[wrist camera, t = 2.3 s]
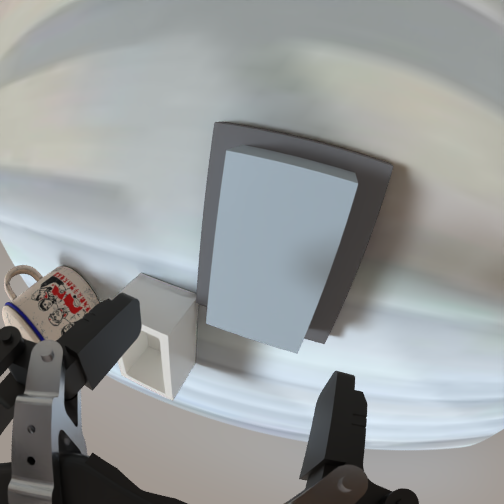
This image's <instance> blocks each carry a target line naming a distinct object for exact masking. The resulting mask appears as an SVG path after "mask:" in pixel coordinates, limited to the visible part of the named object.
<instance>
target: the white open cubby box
mask: <svg viewBox="0 0 504 504" xmlns="http://www.w3.org/2000/svg"><path fill="white" fill-rule="evenodd" d="M120 293H125V294H128V295H130V296H132V297H134V298H136V299H138V300H139V302H140V313H141V324H142V328H141V332H140V335H139V337H138V338H137V339H136V341H135V342H134V343H133V344H132V345H131V346H130V348H129V349H128V350H127V351H126V352H125V353H124V354H123V356H122V357H121V358H120V359H119V360H118V364H119V368H120V371H121V374H122V376H124V377H126V378H128V379H130V380H131V381H133V382H135V383H137V384H139V385H141V386H143V387H145V388H147V389H149V390H151V391H153V392H155V393H157V394H159V395H161V396H163V397H166V398H168V399H170V400H172V401H173V400H174V398H175V397H176V395H177V393H178V392H179V390H180V388H181V387H182V385H183V383H184V382H185V380H186V378H187V377H188V375H189V373H190V372H191V370H192V368H193V367H194V365H195V359H196V338H197V320H198V305H199V304H198V303H196V295H197V294H196V293H193V292H190V291H187V290H184V289H182V288H179V287H176V286H174V285H171V284H168V283H166V282H163V281H160V280H158V279H155V278H152V277H150V276H147V275H145V274H142V273H140V274H139V275H138V276H137V277H136V278H135V279H133V280H132V281H131V282H130V283H129V284H128V285H127V286H126V287H125V288H124V289H122V290H121V291H120V292H119V293H118V294H120ZM118 294H117V295H118ZM117 295H116V296H117ZM116 296H115V297H116ZM115 297H114V298H115ZM114 298H113V299H114ZM113 299H112V300H113Z"/></svg>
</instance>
